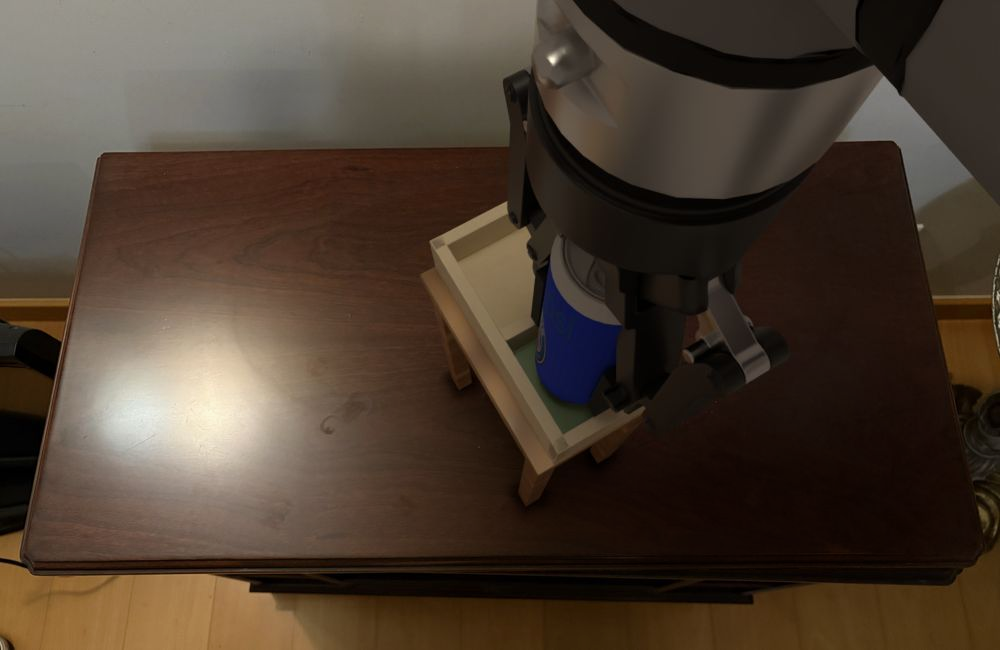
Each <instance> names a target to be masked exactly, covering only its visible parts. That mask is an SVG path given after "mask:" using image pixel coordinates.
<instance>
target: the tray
mask: <svg viewBox="0 0 1000 650" xmlns="http://www.w3.org/2000/svg"><path fill="white" fill-rule="evenodd" d="M508 215H509V214H508V211H507V200H506V201H505V202H502V203H500V204H499V205H497V206H495V207H492V208H491V209H488V210H487V211H485V212H483V213H481V214H480V215H477V216H475V217H473V218H472V219H469V220H467V221H466V222H464V223H462V224H460V225H457V226H456V227H454V228H452V229H450V230H449V231H447V232H444V233H442V234H440V235H439V236H436V237H435V238H432V239H431V240H429V245H430V249H431V254H432V257H433V258H432V259H433V263H434V267H436V270H437V271H438V273H439V275H440V276H441V278H442V280H443V281H444V283H445V285H446V286H447V288H448V290H449V291H450V293H451V295H452V296H453V298H454V300H455V301H456V303H457V305H458V306H459V308H460V310H461V311H462V313H463V315H464V316H465V318H466V320H467V321H468V323H469V325H470V326H471V328H472V330H473V331H474V333H475V335H476V336H477V338H478V340H479V341H480V343H481V345H482V346H483V348H484V350H485V351H486V353H487V355H488V356H489V358H490V360H491V361H492V363H493V365H494V366H495V368H496V370H497V371H498V373H499V375H500V376H501V378H502V380H503V381H504V383H505V385H506V386H507V388H508V390H509V391H510V393H511V395H512V396H513V398H514V400H515V401H516V403H517V405H518V406H519V408H520V410H521V411H522V413H523V415H524V416H525V418H526V420H527V421H528V423H529V425H530V426H531V428H532V430H533V431H534V433H535V435H536V436H537V438H538V440H539V441H540V443H541V445H542V446H543V448H544V450H545V451H546V453H547V455H548V456H549V458H550V460H551V461H552V463H553V464H555V463H557V462H558V461H560V460H562V459H563V458H565V457H567V456H568V455H570V454H572V453H573V452H575V451H577V450H579V449H580V448H582V447H584V446H585V445H587V444H589V443H590V442H592V441H594V440H595V439H597V438H599V437H600V436H602V435H604V434H605V433H607V432H609V431H610V430H612V429H614V428H616V427H617V426H619V425H621V424H622V423H624V422H626V421H627V420H629V419H631V418H632V417H634V416H636V415H637V414H639V413H641V412H642V411H644V410H645V407H644V406H642V407H640V408H639V409H637V410H635V411H634V412H632V413H630V414H626V413H624V411H623V410H621V411H620V412H618V413H615V412H614V411H612V409H611V408H609V409H608V410H606V411H604V412H603V413H601V414H599V415H597V416H596V417H594V416H593V415H592V413H591V411H590V410H589V408H588V407H587V404H576V403H570V402H567V401H564V400H562V399H560V398H558V397H557V396H555V395H554V394H552V393H551V392H550V391H549V390H548V389H547V388H546V387H545V386H544V384H543V383H542V381H541V379H540V378H539V375H538V373H537V370H536V365H535V353H536V346H537V340H538V334H539V327H538V328H537V326H536V324H535V323H534V321H533V320H532V318H531V309H532V300H533V291H534V282H535V275H534V272H533V268H532V267H533V260H532V259H531V258H530V257H529V255H528V250H527V248H526V246H527V245H526V244H527V242H528V240H529V239H530V238H531V235H530V233H529V231H528V229H527V228H526V226H525V227H523V228H521V229H520V230H519V229H517V228H516V227H515V226H514V224H512V223H511V222H510V220H509V217H508Z"/></svg>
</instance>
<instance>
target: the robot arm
mask: <svg viewBox="0 0 1000 650" xmlns="http://www.w3.org/2000/svg"><path fill="white" fill-rule="evenodd" d="M534 17H535V19H534V29H533V30H534V31H533V47H532V51H531V55H530V65H529V66H526V67H523V68H522V69H521V70H519V71H517V72H514V73H512V74H510V75H508V76H506V77H504V78H503V79H502V89H503V94H504V98H505V104H506V109H507V115H508V120H509V141H508V143H509V144H508V145H509V146H508V173H507V176H508V177H507V200H506V201H507V211H508V214H509V215H508V217H509V220H510V222H511V223H512V224H514V226H515V227H516V228H517V229H519V230H520V229H521V228H523V227H525V226H526V228H527V229H528V231H529V233H530V235H531V238H530V239H529V240H528V242H527V244H526V245H527V246H526V248H527V250H528V255H529V257H530V258H531V259H532V260H533V267H532V268H533V272H534V275H535V282H534V291H533V300H532V309H531V318H532V320H533V321H534V323H535V324H536V326H537V328H538V327H540V321H541V314H542V308H543V301H544V295H545V288H546V282H547V276H548V269H549V263H550V256H551V250H552V246H553V243H554V240H555V238H556V236H557V234H558V235H559V237H560V238H561V237H563V236H565V237H566V238H567V239H569V240H570V241H571V242H572V243H574V244H575V245H576V246H578V247H579V248H580V249H582V250H583V251H585V252H587V253H588V254H590V255H592V256H593V257H595V258H597V259H598V265H599V268H600V269H601V270H602V271H603V273H604V274H605V304H606V306H607V308H608V309H609V310H610V311H611V313H612V314H613V315H614V316H615V317H616V319H617V320H618V321H619V322H620V324H621V325H622V328H621V330H620V332H619V334H618V336H617V340H616V366H615V367H614V368H612V369H610V370H608V371H607V372H605V373H603V374H602V376H601V378H600V380H599V382H598V384H597V386H596V388H595V390H594V392H593V394H592V396H591V398H590V400H589V402H588V404H587V407H588V408H589V410H590V411H591V413H592V415H593V416H594V417H596V416H597V415H599V414H601V413H603V412H604V411H606V410H608V409H609V408H611V409H612V411H614V412H615V413H618V412H620V411H621V410H623V411H624V413H626V414H630V413H632V412H634V411H635V410H637V409H639V408H640V407H642V406H644V407H645V410H644V411H643V412H642V417H643V420H644V421H643V425H644V426H645V428H646V430H647V431H648V432H649V433H650V434H651V435H653V436H655V438H659V437H661V436H662V435H664V434H666V433H667V432H669V431H671V430H672V429H674V428H676V427H678V426H679V425H680V424H682V423H684V422H685V421H687V420H689V419H691V418H692V417H694V416H696V415H697V414H699V413H700V412H702V411H704V410H705V409H706V408H708V407H709V405H711V404H712V403H713V402H714V401H715V400H717V399H724V398H727V397H728V396H730V395H732V394H734V393H735V392H736V391H738V390H741V388H743V387H744V386H747V385H748V384H750V383H752V382H753V381H755V380H757V379H758V378H760V377H762V376H763V375H765V374H766V373H768V372H769V371H771V370H773V369H774V368H776V367H778V366H780V365H781V364H783V363H785V362H786V361H788V360H789V359H790V357H791V350H790V347H789V344H788V342H787V341H786V339H785V337H784V336H783V335H782V334H781V333H780V332H779V331H778V330H777V329H776V328H774V327H771V326H767V325H766V326H756V327H754V324H753V322H752V320H751V319H750V317H748V316H747V315H744V314H743V312H742V310H741V308H740V306H739V305H738V304H739V303H738V302H737V300H736V298H735V296H734V295H735V294H736V293H737V292H738V290H739V288H740V286H741V283H742V281H743V259H744V257H745V255H746V253H747V252H748V251H749V250H750V249H751V248H752V247H753V245H754V244H755V243H756V242H757V241H758V240H759V239H760V238H761V236H762V235H763V234H764V233H765V232H766V230H767V229H768V228H769V227H770V225H771V224H772V223H773V221H774V220H775V219H776V217H777V216H778V215H779V213H780V212H781V211H782V210H783V208H784V207H785V206H786V205H787V203H788V202H789V201H790V199H792V197H793V195H794V194H795V193H796V192H797V190H798V189H799V188H800V187H801V186H802V184H803V182H804V181H805V180H806V178H808V176H809V175H810V174H811V172H812V171H813V169H814V167H815V166H816V164H817V163H818V161H820V160H821V158H822V157H823V156H824V155H825V153H827V151H828V150H829V149H830V148H831V147H832V145H834V143H835V142H836V141H837V139H838V138H839V137H840V135H841V134H842V133H843V132H844V130H845V129H846V128H847V126H848V125H849V123H850V122H851V121H852V120H853V118H854V116H856V114H857V113H858V111H859V110H860V109H861V108H862V106H863V105H864V104H865V102H866V101H867V100H868V98H869V96H870V95H871V94H872V92H873V91H874V90H875V89H876V87H877V86H878V85H879V83H880V82H881V80H882V79H883V78H884V77H885V79H886V80H887V81H888V82H889V83H890V85H892V87H893V88H894V89H895V90H896V92H897V94H898V96H899V97H902V98H903V99H904V100H905V101H906V102H907V104H908V105H910V107H911V108H912V109H913V111H915V112H916V114H917V115H918V116H919V117H920V118H921V119H922V120H923V121H924V123H925V124H926V125H927V126H928V127H929V128H930V129H931V130H932V132H933V133H934V134H935V135H936V136H937V137H938V139H940V141H941V142H942V143H943V144H944V146H945V147H947V149H948V150H949V151H950V152H951V153H952V155H954V157H955V158H956V159H957V160H958V162H960V164H961V165H962V166H963V167H964V169H966V170H967V171H968V172H969V174H970V175H971V176H972V177H973V179H975V181H976V182H977V183H978V184H979V185H980V186H981V187H982V188H983V190H984V191H985V192H986V193H987V194H988V195H989V196H990V197H991V199H993V201H994V202H995V204H996V205H997V206H998V207H1000V0H536V5H535V16H534ZM688 316H696V317H697V321H698V329H697V330H696V331H695V332H694V339H695V342H694V343H692V344H690V345H688V346H687V347H685V348H683V345H684V339H685V332H686V327H687V321H688ZM681 356H682V357H683V359H684V360H685V361H684V362H683V363H682V364H680V363H681Z"/></svg>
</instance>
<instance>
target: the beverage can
mask: <svg viewBox="0 0 1000 650" xmlns="http://www.w3.org/2000/svg"><path fill="white" fill-rule="evenodd" d="M621 328H622V325H621V324H620V322H619V321H618V320H617V319H616V317H615V316H614V315H613V314H612V313H611V311H610V310H609V309H608V308H607V306H606V304H605V274H604V273H603V271H602V270H601V269H600V268H599V265H598V259H597V258H595V257H593V256H592V255H590V254H588V253H587V252H585V251H583V250H582V249H580V248H579V247H578V246H576V245H575V244H574V243H572V242H571V241H570V240H569V239H567V238H566V237H565V236H563V237H561V238H560V237H559V235H558V234H557V236H556V238H555V240H554V243H553V246H552V250H551V256H550V263H549V269H548V276H547V282H546V288H545V295H544V301H543V308H542V314H541V321H540V327H539V334H538V340H537V346H536V353H535V365H536V370H537V373H538V375H539V378H540V379H541V381H542V383H543V384H544V386H545V387H546V388H547V389H548V390H549V391H550V392H551V393H552V394H554V395H555V396H557V397H558V398H560V399H562V400H564V401H567V402H570V403H576V404H588V402H589V400H590V398H591V396H592V394H593V392H594V390H595V388H596V386H597V384H598V382H599V380H600V378H601V376H602V374H603V373H605V372H607V371H608V370H610V369H612V368H614V367H615V366H616V340H617V336H618V334H619V332H620V330H621Z"/></svg>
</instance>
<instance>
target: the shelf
mask: <svg viewBox="0 0 1000 650" xmlns="http://www.w3.org/2000/svg"><path fill="white" fill-rule="evenodd" d="M419 276H420V279H421V283H422V285H423V287H424V289H425V290H426V293H427V294H428V295H429V298H430V300H431V303H432V307H433V311H434V315H435V319H436V322H437V327H438V330H439V334H440V338H441V341H442V346H443V349H444V353H445V356H446V360H447V361H446V362H447V363H448V368H449V371H450V372H449V373H450V376H451V379H452V381H453V382H454V384H455V386H456V387H457V389H458V390H459V391H460V390H462V389H464V388H465V387H467V386H469V385H471V384H473V380H472V374H471V369H470V367H471V368H472V370H473V372H474V374H475V375H476V377H477V379H478V381H479V382H480V384H481V386H482V388H483V389H484V391H485V393H486V394H487V396H488V397H489V399H490V401H491V402H492V404H493V406H494V408H495V409H496V411H497V413H498V414H499V417H500V418H501V419H502V422H503V423H504V424H505V426H506V428H507V430H508V431H509V433H510V435H511V437H512V439H513V440H514V442H515V443H516V445H517V447H518V449H519V451H520V452H521V454H522V455H523V457H524V462H523V467H522V470H521V471H522V472H521V477H520V482H519V487H518V492H517V493H518V496H519V497H520V499H521V500H522V503H523V504H524V505H525V507H528V506H530V505H531V504H533V503H535V502H536V501H538V500H539V499H540V498H541V496H542V495H543V492H544V490H545V488H546V487H547V485H548V483H549V481H550V478H551V477H552V475H553V473H554V471H555V470H556V468H557V467H559V466H561V465H562V464H564V463H566V462H567V461H569V460H571V459H572V458H574V457H576V456H577V455H579V454H581V453H583V452H584V451H586V450H587V449H589V452H590V453H591V456H592V457H593V459H594V460H595V462H596V464H600V463H601V462H603V461H605V460H606V459H608V458H609V457H611V456H612V455H613V454H614V453H615V451H617V450H618V448H619V447H620V446H621V445H622V444H624V442H625V441H627V439H628V438H629V437H630V436H631V434H633V433H634V432H635V430H637V428H639V426H640V425H641V424H642V423H644V420H643V417H642V412H643V411H642V412H641V413H639V414H637V415H636V416H634V417H632V418H631V419H629V420H627V421H626V422H624V423H622V424H621V425H619V426H617V427H616V428H614V429H612V430H610V431H609V432H607V433H605V434H604V435H602V436H600V437H599V438H597V439H595V440H594V441H592V442H590V443H589V444H587V445H585V446H584V447H582V448H580V449H579V450H577V451H575V452H573V453H572V454H570V455H568V456H567V457H565V458H563V459H562V460H560V461H558V462H557V463H555V464H553V463H552V461H551V460H550V458H549V456H548V455H547V453H546V451H545V450H544V448H543V446H542V445H541V443H540V441H539V440H538V438H537V436H536V435H535V433H534V431H533V430H532V428H531V426H530V425H529V423H528V421H527V420H526V418H525V416H524V415H523V413H522V411H521V410H520V408H519V406H518V405H517V403H516V401H515V400H514V398H513V396H512V395H511V393H510V391H509V390H508V388H507V386H506V385H505V383H504V381H503V380H502V378H501V376H500V375H499V373H498V371H497V370H496V368H495V366H494V365H493V363H492V361H491V360H490V358H489V356H488V355H487V353H486V351H485V350H484V348H483V346H482V345H481V343H480V341H479V340H478V338H477V336H476V335H475V333H474V331H473V330H472V328H471V326H470V325H469V323H468V321H467V320H466V318H465V316H464V315H463V313H462V311H461V310H460V308H459V306H458V305H457V303H456V301H455V300H454V298H453V296H452V295H451V293H450V291H449V290H448V288H447V286H446V285H445V283H444V281H443V280H442V278H441V276H440V275H439V273H438V271H437V270H436V267H435V266H434V267H432V268H430V269H428V270H426V271H424V272H422V273H420V275H419Z"/></svg>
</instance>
